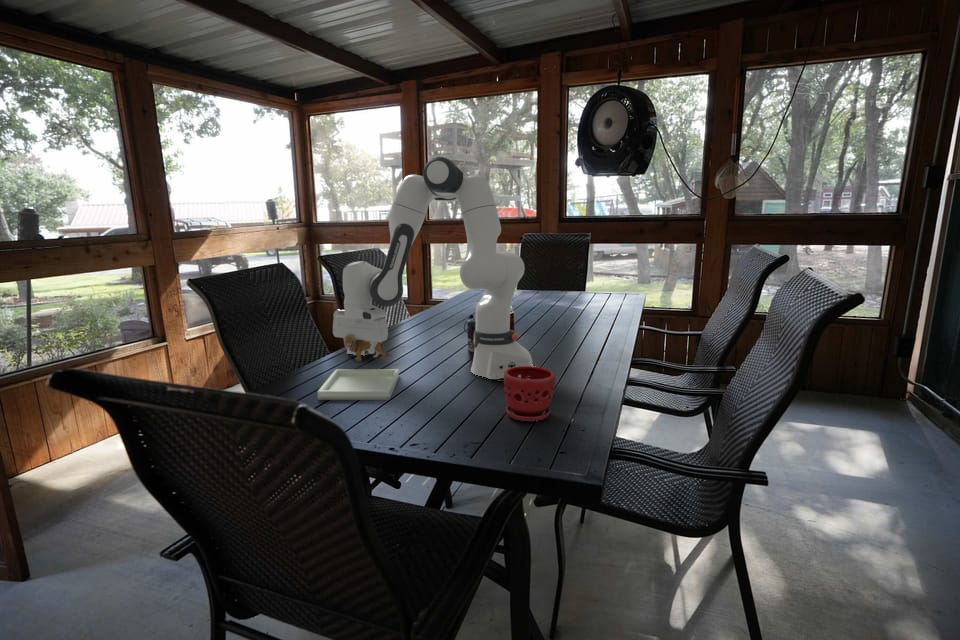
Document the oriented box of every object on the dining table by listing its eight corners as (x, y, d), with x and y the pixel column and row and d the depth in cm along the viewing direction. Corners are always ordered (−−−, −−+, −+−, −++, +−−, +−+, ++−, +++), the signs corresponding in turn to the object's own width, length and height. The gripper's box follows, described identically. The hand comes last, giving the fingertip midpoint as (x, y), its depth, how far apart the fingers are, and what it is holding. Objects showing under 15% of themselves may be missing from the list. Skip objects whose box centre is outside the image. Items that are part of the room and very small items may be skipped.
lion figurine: (346, 363, 168) (344, 337, 166) (344, 359, 172) (342, 333, 170) (391, 358, 173) (389, 332, 171) (387, 354, 178) (386, 329, 176)
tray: (399, 376, 165) (398, 369, 164) (389, 399, 145) (389, 391, 145) (336, 376, 164) (335, 369, 164) (318, 399, 145) (317, 391, 144)
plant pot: (561, 422, 131) (563, 377, 128) (513, 428, 127) (514, 382, 125) (541, 403, 143) (542, 362, 141) (496, 408, 140) (497, 366, 137)
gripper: (327, 310, 170) (330, 351, 173) (377, 315, 161) (380, 357, 164) (339, 307, 176) (342, 346, 178) (389, 311, 167) (391, 352, 170)
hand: (360, 352), depth 171 cm, fingers closed on lion figurine, 7 cm apart
